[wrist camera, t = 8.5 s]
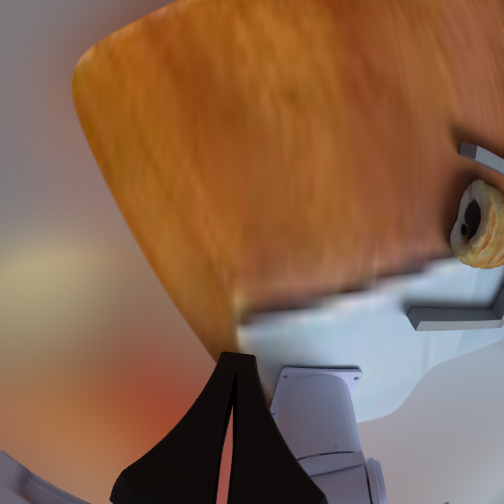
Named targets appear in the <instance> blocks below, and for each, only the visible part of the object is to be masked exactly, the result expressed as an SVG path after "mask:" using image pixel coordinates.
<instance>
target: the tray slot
mask: <svg viewBox="0 0 504 504" xmlns="http://www.w3.org/2000/svg"><path fill="white" fill-rule="evenodd" d="M459 155H461V156H463V157H466V158H468V159H470V160H473V161H475V162H477V163H479V164H481V165H484V166H486V167H488V168H490V169H492V170H494V171H496V172H498V173H500V174H502V175H504V159H502V158H500V157H498V156H497V155H495V154H493V153H491V152H489V151H487V150H485V149H483V148H481V147H479V146H477V145H473V144H469V143H464V142H461V146H460V152H459ZM407 317H408V319H409V321H410V322H411V324H412V326H413V327H414V329H415V331H443V330H469V329H486V328H500V327H502V326H503V324H504V285H503V287H502V290H501V292H500V294H499V296H498V298H497V300H496V302H495V304H494V306H493V308H492V309H456V308H425V307H411V309H410V311H409V313H408V315H407Z"/></svg>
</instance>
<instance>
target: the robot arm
mask: <svg viewBox="0 0 504 504" xmlns="http://www.w3.org/2000/svg"><path fill="white" fill-rule="evenodd" d="M362 374H363V373H362V370H360V369H311V368H291V367H285V368H283V369H282V370H281V373H280V377H279V380H278V384H277V387H276V390H275V394H274V397H273V400H272V403H271V407H270V409H269V406H268V404H267V401H266V398H265V395H264V392H263V389H262V386H261V382H260V378H259V374H258V369H257V362H256V357H255V356H254V355H250V354H241V353H233V352H225V351H224V352H222V353H221V355H220V358H219V360H218V363H217V365H216V367H215V370H214V372H213V373H212V375H211V377H210V379H209V381H208V382H207V384H206V386H205V387H204V389H203V391H202V392H201V394H200V395H199V397H198V398H197V399H196V401H195V402H194V404H193V405H192V407H191V408H190V409H189V410H188V412H187V413H186V414H185V416H184V417H183V418H182V419H181V420H180V421H179V423H178V424H177V425H176V426H175V427H174V428H173V429H172V430H171V431H170V432H169V433H168V434H167V435H166V436H165V437H164V438H163V439H162V440H161V441H160V442H159V443H158V444H157V445H156V446H154V447H153V448H152V449H151V450H150V451H149V452H148V453H146V454H145V455H144V456H142V457H141V458H140V459H138V460H137V461H136V462H134V463H133V464H131V465H130V466H128V467H127V468H126V469H124V470H123V471H122V472H121V474H120V475H119V477H118V478H117V480H116V482H115V484H114V486H113V489H112V492H111V496H110V501H111V502H112V503H113V504H216V500H217V492H218V483H219V474H220V466H221V458H222V451H223V446H224V442H225V437H226V433H227V428H228V424H229V419H230V414H231V410H232V406H233V451H232V464H231V473H230V481H229V491H228V501H227V504H388V502H387V495H386V489H385V484H384V479H383V474H382V469H381V464H380V462H379V461H377V460H374V458H369V459H367V460H366V461H367V464H366V461H365V458H364V455H363V452H362V447H361V442H360V437H359V432H358V427H357V422H356V417H355V413H354V408H353V404H352V399H351V393H352V392H353V390H354V388H355V387H356V385H357V383H358V381H359V380H360V378H361V376H362ZM275 420H276V423H275ZM367 469H368V470H367ZM0 501H1V502H2V503H3V504H90V503H88V502H85V501H84V500H81V499H79V498H77V497H75V496H73V495H71V494H69V493H67V492H65V491H63V490H61V489H59V488H57V487H56V486H54V485H52V484H50V483H49V482H47V481H45V480H43V479H42V478H40V477H38V476H37V475H35V474H33V473H32V472H30V471H29V470H28V469H27V468H26V467H25V466H23V465H22V464H20V463H19V462H18V461H16V460H15V459H13V458H12V457H11V456H9V455H8V454H6V453H5V452H4V451H0ZM444 504H449V503H448V502H446V503H444Z"/></svg>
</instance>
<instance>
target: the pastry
mask: <svg viewBox="0 0 504 504" xmlns="http://www.w3.org/2000/svg"><path fill="white" fill-rule="evenodd" d="M450 245H451V249H452V251H453V253H454V255H455V256H456V257H457V258H459V259H460V260H461V262H462V263H464V264H466V265H470V266H471V267H474V268H478V267H479V268H481V269H492V268H494V267H499V266H501V265H504V193H503V192H502V191H500V190H499V189H496V188H494V187H491V186H489V185H487V184H485V183H484V182H483V180H475V181H473V182H472V183H471V184H469V185H468V186H467V189H466V191H464V193H463V196H462V199H461V202H460V207H459V212H458V218H457V221H456V223H455V224H454V227H453V229H452V232H451V234H450Z"/></svg>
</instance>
